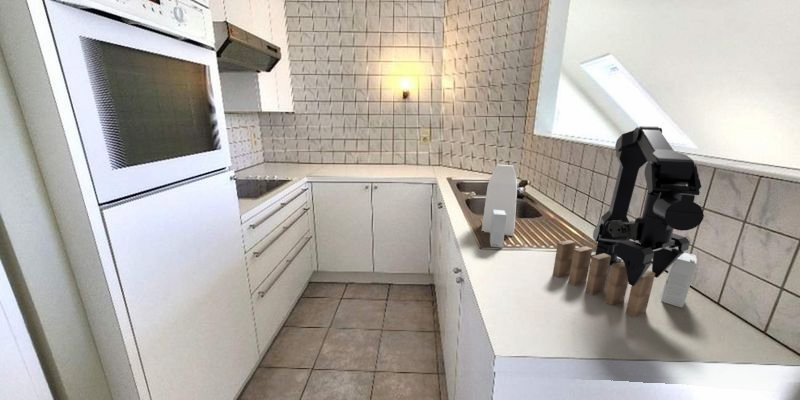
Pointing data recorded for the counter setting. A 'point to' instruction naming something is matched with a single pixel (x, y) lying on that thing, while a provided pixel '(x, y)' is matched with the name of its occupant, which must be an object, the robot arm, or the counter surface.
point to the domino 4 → (616, 284)
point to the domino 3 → (598, 273)
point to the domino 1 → (563, 258)
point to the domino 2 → (580, 265)
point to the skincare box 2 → (679, 280)
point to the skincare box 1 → (497, 228)
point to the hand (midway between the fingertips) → (643, 280)
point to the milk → (501, 197)
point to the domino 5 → (640, 294)
